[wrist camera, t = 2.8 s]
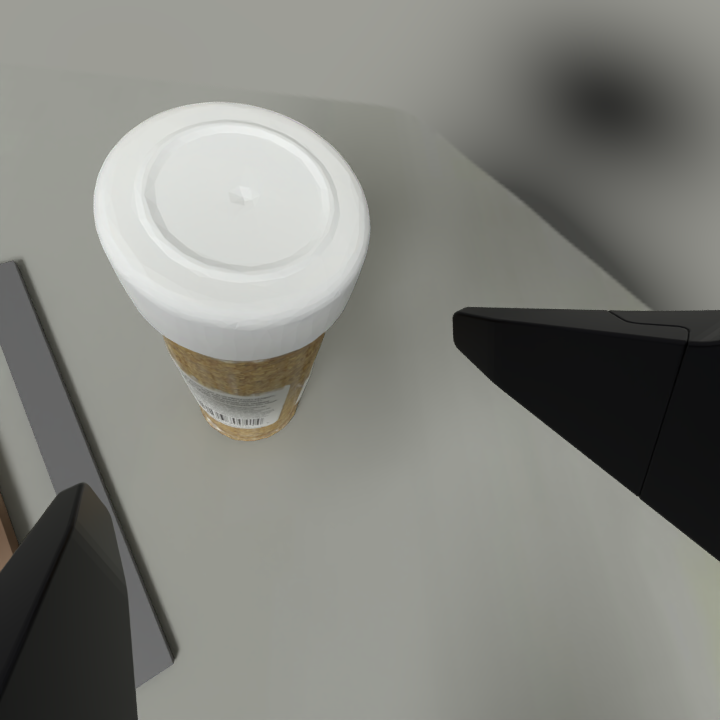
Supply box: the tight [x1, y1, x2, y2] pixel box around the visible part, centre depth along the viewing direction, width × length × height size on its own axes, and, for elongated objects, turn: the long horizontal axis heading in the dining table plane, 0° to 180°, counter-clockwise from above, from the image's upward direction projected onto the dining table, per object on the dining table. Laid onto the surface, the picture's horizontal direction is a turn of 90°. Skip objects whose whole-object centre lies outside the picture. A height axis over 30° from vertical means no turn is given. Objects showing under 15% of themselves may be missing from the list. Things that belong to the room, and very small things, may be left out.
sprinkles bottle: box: [94, 102, 371, 441], centre depth 13 cm, size 5×5×13 cm
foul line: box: [0, 261, 174, 689], centre depth 16 cm, size 18×2×1 cm, turn 30°
